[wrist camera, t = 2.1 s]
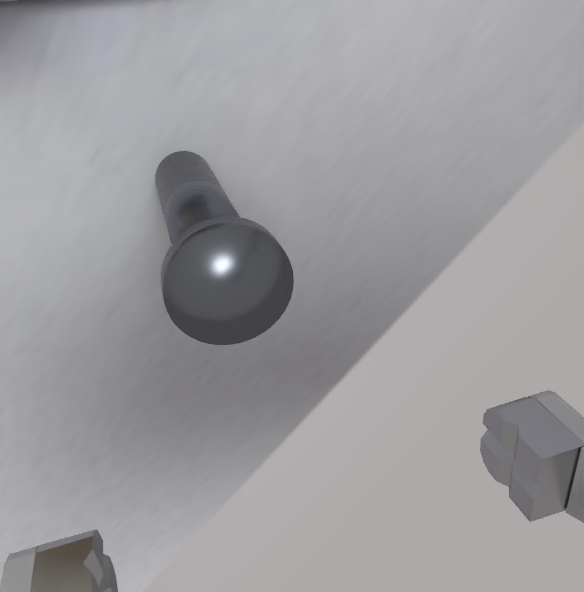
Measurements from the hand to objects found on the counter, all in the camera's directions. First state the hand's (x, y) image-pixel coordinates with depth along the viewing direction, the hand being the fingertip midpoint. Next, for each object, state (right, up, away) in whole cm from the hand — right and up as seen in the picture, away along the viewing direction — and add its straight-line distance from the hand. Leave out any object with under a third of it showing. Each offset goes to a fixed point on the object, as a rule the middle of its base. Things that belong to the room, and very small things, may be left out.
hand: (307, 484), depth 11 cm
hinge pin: (-6, +10, +18) cm, 22 cm away
